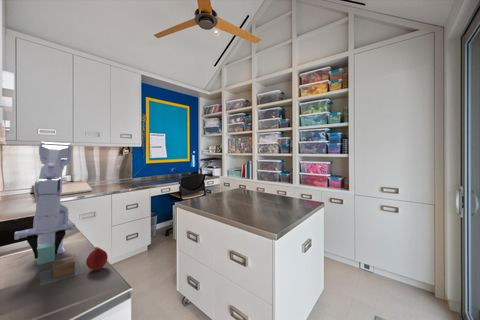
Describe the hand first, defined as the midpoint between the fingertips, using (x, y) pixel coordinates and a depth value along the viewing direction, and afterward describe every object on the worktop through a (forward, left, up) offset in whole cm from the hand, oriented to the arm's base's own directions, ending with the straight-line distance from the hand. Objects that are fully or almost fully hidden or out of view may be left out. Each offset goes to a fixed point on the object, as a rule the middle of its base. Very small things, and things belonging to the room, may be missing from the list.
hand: (46, 255), depth 68 cm
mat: (+7, +3, -5) cm, 9 cm away
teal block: (0, 0, -2) cm, 2 cm away
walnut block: (+7, +4, -4) cm, 9 cm away
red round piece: (+12, +12, -5) cm, 18 cm away
